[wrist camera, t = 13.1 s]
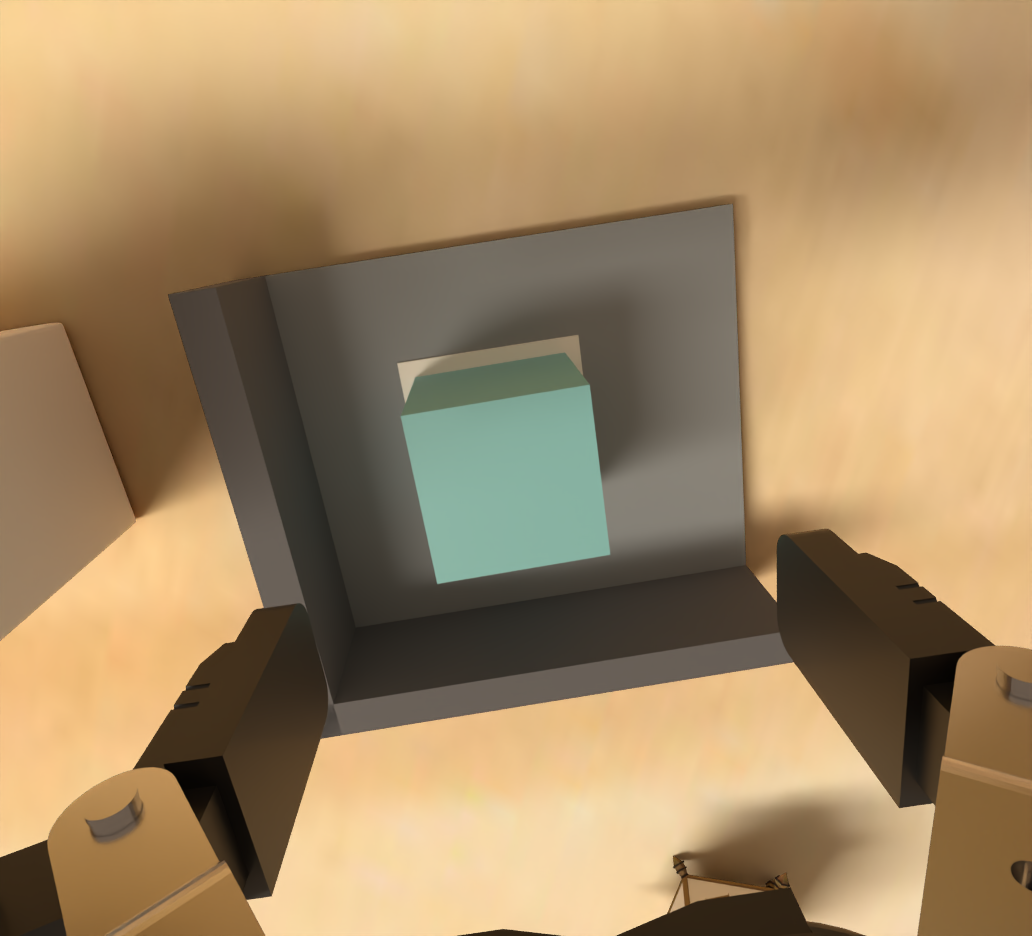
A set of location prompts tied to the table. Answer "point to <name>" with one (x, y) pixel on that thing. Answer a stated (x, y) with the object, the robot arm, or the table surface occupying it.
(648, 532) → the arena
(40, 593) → the milk carton
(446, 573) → the cube
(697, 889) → the game die
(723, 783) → the table surface
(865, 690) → the robot arm
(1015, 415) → the table surface
